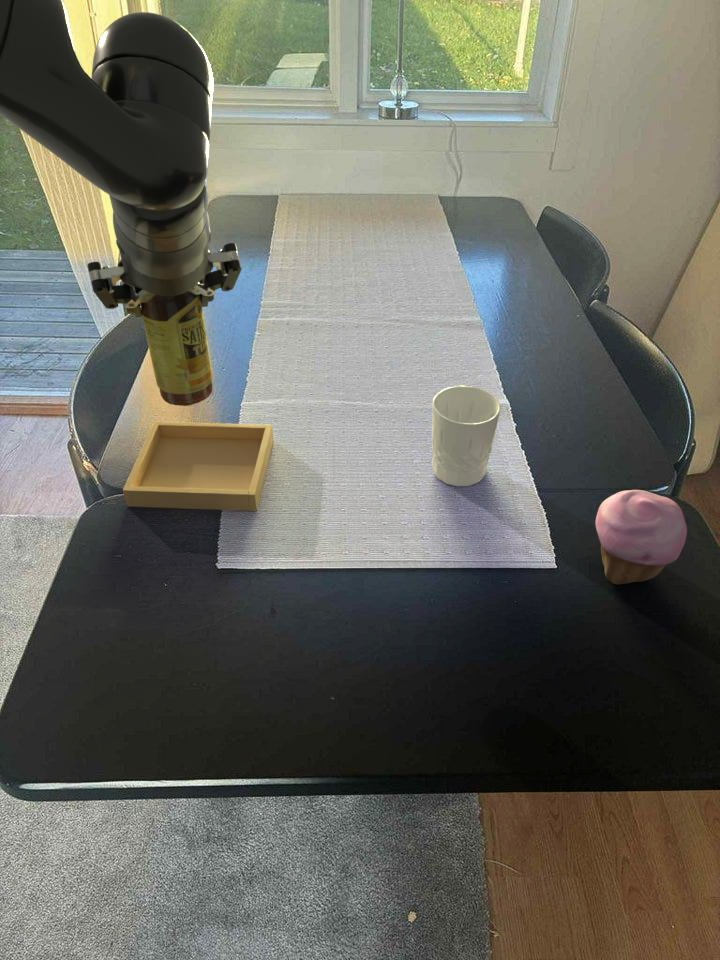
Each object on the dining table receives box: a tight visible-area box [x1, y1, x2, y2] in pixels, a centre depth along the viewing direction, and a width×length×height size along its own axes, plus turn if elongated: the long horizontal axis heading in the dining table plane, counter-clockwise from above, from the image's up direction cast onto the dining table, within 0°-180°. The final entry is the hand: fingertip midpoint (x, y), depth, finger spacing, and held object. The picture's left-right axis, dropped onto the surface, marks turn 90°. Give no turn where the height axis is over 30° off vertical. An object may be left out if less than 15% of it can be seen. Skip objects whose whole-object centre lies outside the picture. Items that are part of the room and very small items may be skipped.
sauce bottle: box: [140, 291, 214, 407], centre depth 73 cm, size 7×6×20 cm
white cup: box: [431, 385, 502, 487], centre depth 85 cm, size 8×8×10 cm
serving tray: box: [122, 420, 275, 512], centre depth 87 cm, size 16×14×3 cm
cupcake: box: [595, 489, 688, 585], centre depth 72 cm, size 9×9×10 cm
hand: (169, 303), depth 74 cm, fingers closed on sauce bottle, 6 cm apart
